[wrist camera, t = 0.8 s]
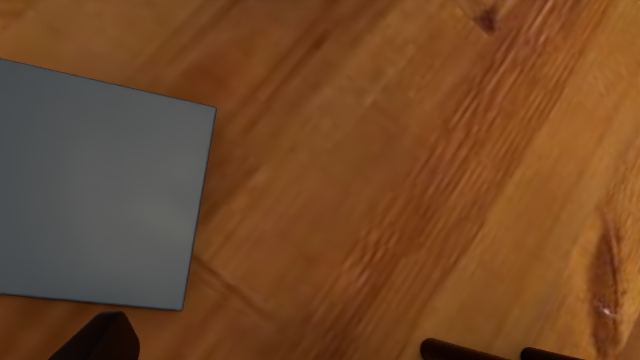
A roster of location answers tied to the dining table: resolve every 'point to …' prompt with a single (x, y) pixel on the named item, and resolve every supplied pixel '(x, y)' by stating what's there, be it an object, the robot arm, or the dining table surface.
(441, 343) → the small black table
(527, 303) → the dining table surface
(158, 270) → the blue-grey square tile
